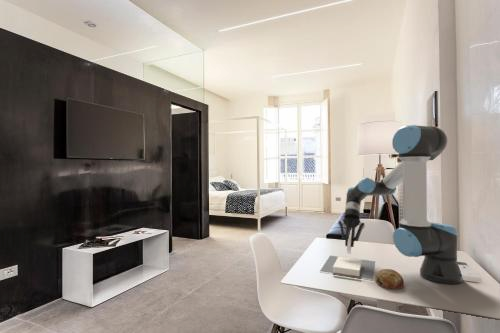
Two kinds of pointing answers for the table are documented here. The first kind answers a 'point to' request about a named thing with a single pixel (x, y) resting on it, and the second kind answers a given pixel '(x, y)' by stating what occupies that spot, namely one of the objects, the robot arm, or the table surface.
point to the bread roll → (389, 279)
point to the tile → (347, 266)
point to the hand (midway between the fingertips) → (348, 252)
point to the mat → (366, 272)
